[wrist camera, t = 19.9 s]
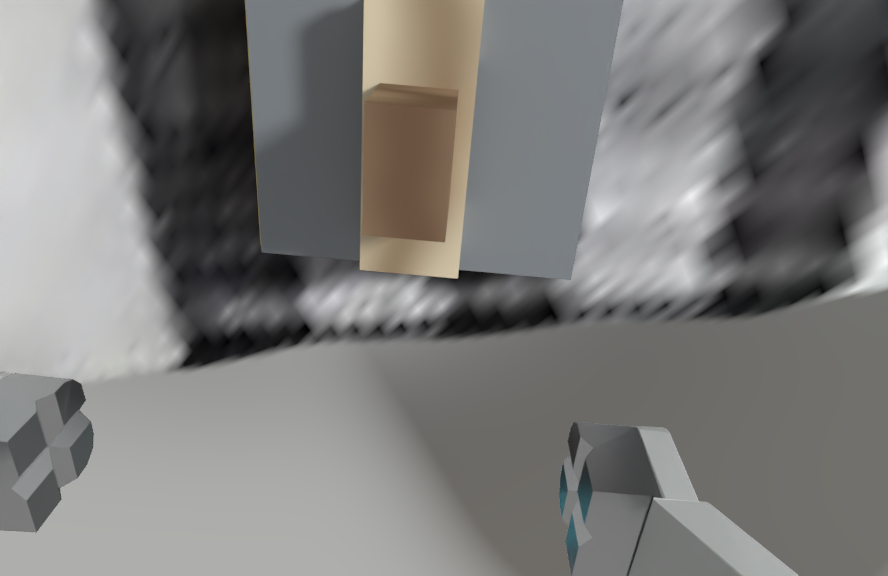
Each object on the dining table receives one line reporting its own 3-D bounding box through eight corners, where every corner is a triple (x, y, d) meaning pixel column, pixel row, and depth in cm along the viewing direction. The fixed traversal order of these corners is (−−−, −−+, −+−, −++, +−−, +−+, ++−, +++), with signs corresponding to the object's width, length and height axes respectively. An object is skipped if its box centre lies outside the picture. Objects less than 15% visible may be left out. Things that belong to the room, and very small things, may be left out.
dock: (277, 223, 36) (255, 251, 33) (263, -54, 30) (234, -56, 26) (561, 248, 36) (570, 279, 33) (609, -25, 30) (627, -23, 26)
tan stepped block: (369, 244, 32) (359, 269, 30) (375, -17, 27) (364, -15, 24) (459, 252, 32) (458, 278, 30) (484, -8, 27) (484, -4, 24)
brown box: (376, 200, 28) (362, 235, 24) (379, 82, 26) (364, 102, 22) (449, 206, 28) (445, 242, 24) (458, 89, 26) (456, 110, 22)
